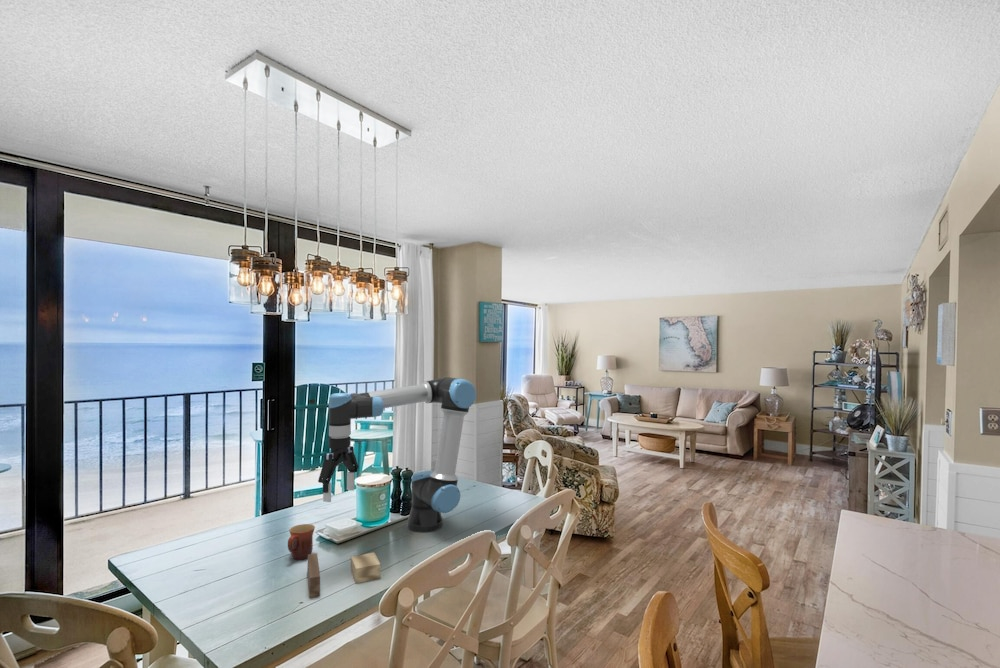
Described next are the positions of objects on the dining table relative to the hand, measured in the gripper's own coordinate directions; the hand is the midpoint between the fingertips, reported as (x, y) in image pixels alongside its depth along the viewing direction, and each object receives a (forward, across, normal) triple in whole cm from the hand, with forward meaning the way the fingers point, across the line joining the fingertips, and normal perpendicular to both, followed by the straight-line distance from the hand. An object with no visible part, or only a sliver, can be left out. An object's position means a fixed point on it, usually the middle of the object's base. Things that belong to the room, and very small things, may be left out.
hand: (339, 495), depth 173 cm
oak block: (+24, +5, +14) cm, 28 cm away
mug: (+24, +2, -15) cm, 28 cm away
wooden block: (+24, +16, +2) cm, 29 cm away
